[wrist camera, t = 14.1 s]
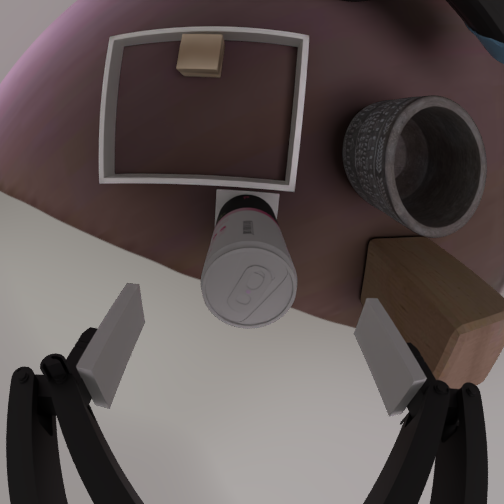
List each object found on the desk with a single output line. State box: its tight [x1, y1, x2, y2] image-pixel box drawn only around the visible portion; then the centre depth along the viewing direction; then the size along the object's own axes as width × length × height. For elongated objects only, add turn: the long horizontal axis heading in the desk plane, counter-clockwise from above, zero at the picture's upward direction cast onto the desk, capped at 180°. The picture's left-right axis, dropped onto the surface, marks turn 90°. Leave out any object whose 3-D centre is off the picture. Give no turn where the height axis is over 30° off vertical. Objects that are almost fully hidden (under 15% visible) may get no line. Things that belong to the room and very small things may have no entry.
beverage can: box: [201, 195, 297, 328], centre depth 25 cm, size 6×7×15 cm
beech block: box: [176, 34, 225, 78], centre depth 23 cm, size 4×4×4 cm
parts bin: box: [99, 26, 309, 192], centre depth 25 cm, size 17×21×3 cm
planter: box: [342, 96, 487, 238], centre depth 23 cm, size 12×12×13 cm
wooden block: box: [361, 237, 504, 389], centre depth 26 cm, size 10×10×20 cm
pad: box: [215, 189, 280, 225], centre depth 32 cm, size 7×7×1 cm
